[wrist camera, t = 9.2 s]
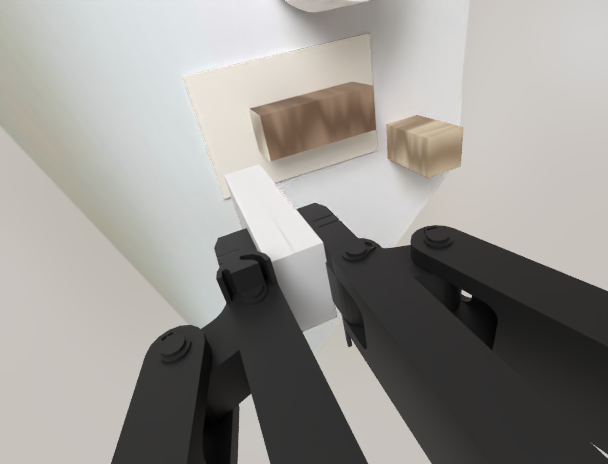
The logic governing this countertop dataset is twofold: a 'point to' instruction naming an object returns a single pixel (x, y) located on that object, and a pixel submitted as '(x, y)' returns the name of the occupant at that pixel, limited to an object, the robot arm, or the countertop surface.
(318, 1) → the cup
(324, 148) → the board
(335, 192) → the countertop surface
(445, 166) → the beech block
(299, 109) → the walnut block
